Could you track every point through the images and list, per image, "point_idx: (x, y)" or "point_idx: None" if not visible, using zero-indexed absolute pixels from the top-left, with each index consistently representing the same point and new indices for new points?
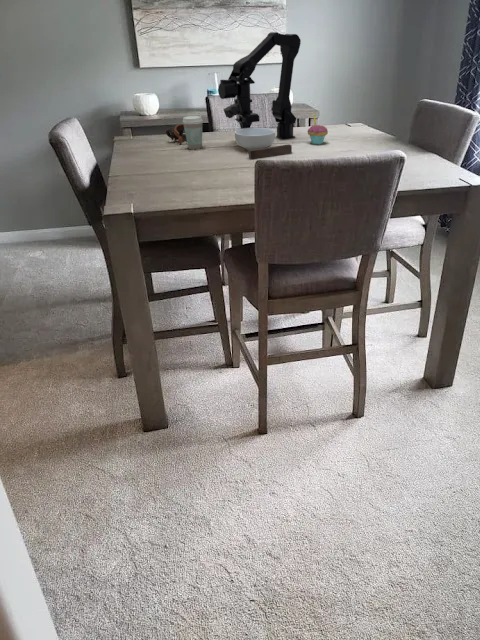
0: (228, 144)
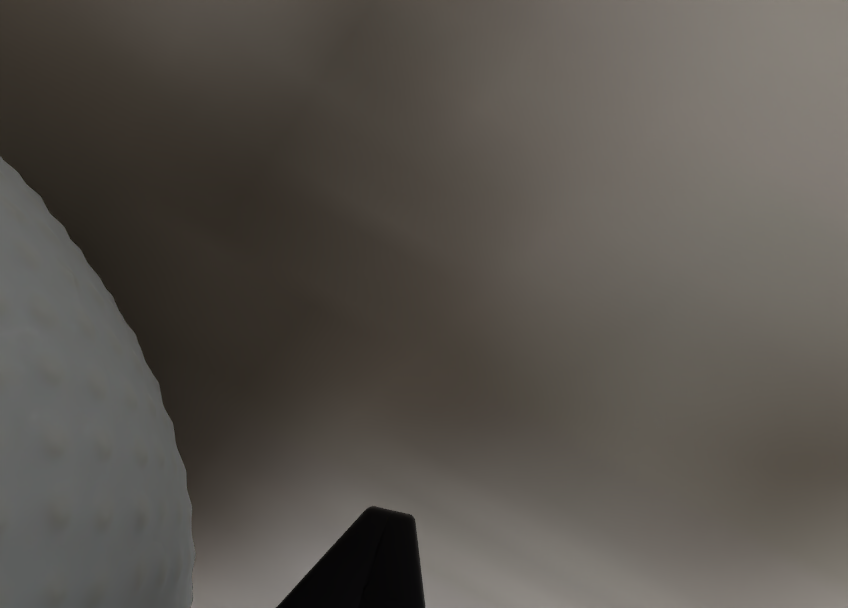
0: (824, 46)
